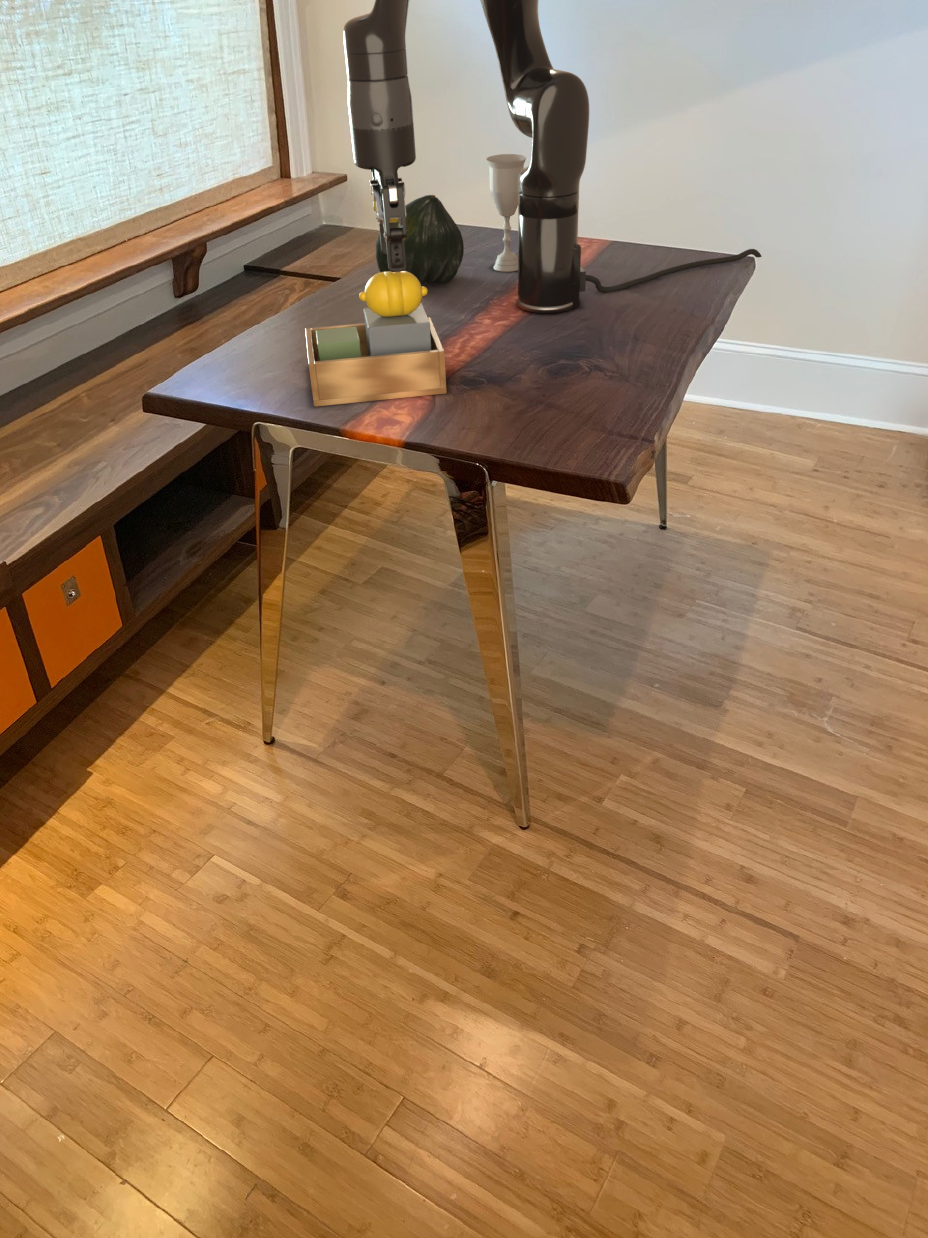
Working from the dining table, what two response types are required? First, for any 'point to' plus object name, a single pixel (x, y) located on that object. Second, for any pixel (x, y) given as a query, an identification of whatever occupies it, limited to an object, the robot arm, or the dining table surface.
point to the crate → (375, 372)
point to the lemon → (393, 293)
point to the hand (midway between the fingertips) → (393, 261)
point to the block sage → (338, 343)
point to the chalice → (505, 200)
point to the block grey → (397, 333)
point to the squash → (428, 242)
